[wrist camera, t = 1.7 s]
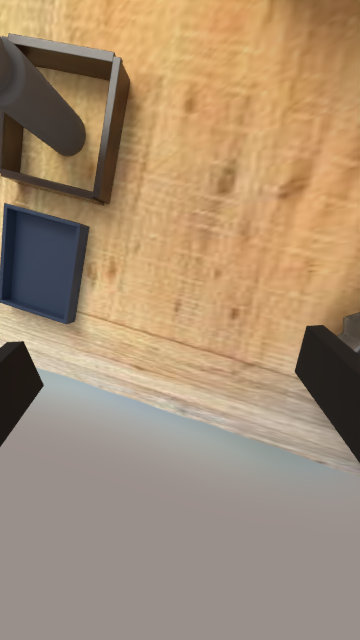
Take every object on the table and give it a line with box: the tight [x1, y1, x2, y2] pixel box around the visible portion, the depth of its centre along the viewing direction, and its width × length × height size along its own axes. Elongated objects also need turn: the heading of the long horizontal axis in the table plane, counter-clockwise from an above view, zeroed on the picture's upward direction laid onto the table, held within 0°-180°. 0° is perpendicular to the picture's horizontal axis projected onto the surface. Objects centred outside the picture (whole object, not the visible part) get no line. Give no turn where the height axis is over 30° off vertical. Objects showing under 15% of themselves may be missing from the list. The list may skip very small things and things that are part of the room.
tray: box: [0, 203, 89, 324], centre depth 37 cm, size 16×13×2 cm
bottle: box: [0, 37, 85, 156], centre depth 25 cm, size 6×6×15 cm
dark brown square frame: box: [0, 33, 130, 205], centre depth 31 cm, size 17×17×3 cm
